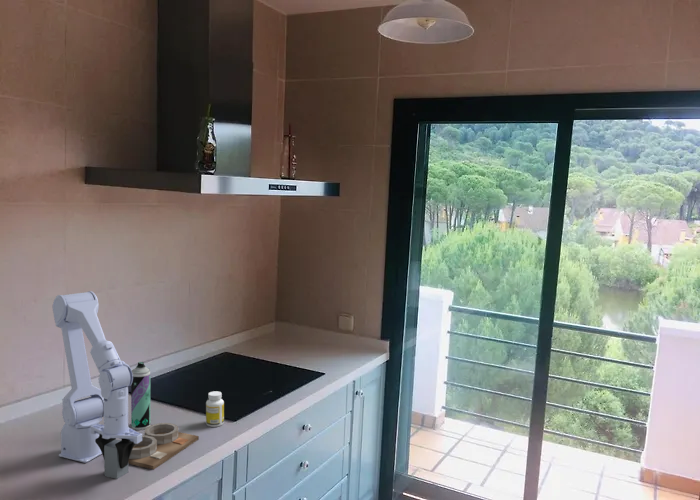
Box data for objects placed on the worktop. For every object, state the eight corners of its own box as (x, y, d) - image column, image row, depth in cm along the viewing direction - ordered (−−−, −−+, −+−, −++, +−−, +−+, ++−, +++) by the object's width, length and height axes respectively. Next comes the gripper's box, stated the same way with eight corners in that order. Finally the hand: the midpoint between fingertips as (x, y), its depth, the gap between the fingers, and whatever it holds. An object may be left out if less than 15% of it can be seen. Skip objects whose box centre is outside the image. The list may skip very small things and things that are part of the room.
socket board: (110, 459, 156) (110, 446, 156) (158, 431, 175) (158, 419, 174) (153, 469, 151) (153, 456, 151) (198, 439, 170) (198, 427, 170)
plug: (104, 475, 147) (104, 445, 146) (115, 468, 151) (115, 439, 150) (117, 479, 146) (117, 448, 145) (128, 471, 150) (128, 442, 149)
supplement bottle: (216, 418, 185) (216, 389, 184) (227, 423, 182) (227, 393, 181) (202, 423, 181) (202, 393, 180) (213, 428, 178) (213, 397, 177)
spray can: (130, 424, 179) (130, 360, 177) (149, 421, 181) (149, 359, 179) (131, 431, 174) (131, 366, 172) (151, 428, 176) (151, 364, 174)
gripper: (81, 414, 145) (82, 466, 147) (128, 424, 141) (128, 477, 142) (102, 404, 152) (102, 454, 154) (147, 413, 147) (147, 465, 149)
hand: (116, 464), depth 148 cm, fingers closed on plug, 4 cm apart
